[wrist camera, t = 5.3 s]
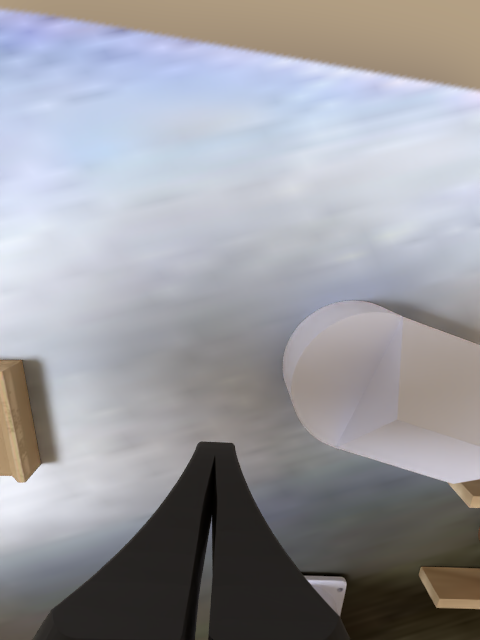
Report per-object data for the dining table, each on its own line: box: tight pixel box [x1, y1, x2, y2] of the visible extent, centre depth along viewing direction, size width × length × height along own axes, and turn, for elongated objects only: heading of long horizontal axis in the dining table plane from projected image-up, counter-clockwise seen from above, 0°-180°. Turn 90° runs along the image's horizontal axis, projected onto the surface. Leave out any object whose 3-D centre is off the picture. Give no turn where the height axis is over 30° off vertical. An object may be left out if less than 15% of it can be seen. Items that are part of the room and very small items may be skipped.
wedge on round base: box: [283, 300, 480, 484], centre depth 18 cm, size 9×7×13 cm
